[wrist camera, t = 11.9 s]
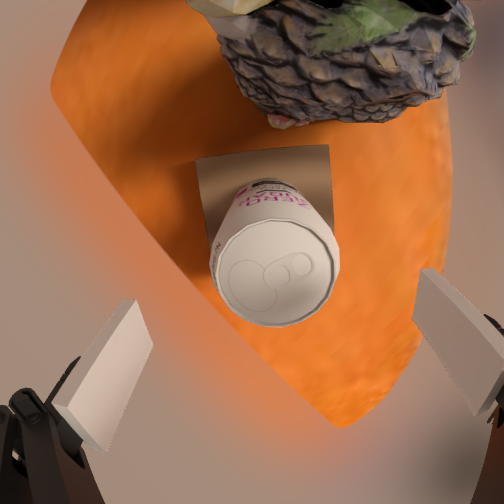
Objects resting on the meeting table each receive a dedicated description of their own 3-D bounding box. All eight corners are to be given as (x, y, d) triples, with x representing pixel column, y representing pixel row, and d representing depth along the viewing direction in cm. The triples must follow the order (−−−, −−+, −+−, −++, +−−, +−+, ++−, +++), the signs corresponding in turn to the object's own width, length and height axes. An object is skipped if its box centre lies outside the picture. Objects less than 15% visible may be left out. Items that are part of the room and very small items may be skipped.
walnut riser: (202, 157, 32) (194, 159, 28) (320, 144, 31) (328, 144, 27) (220, 266, 37) (215, 280, 33) (327, 255, 36) (334, 268, 32)
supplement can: (253, 263, 32) (248, 351, 18) (217, 199, 30) (178, 248, 16) (319, 231, 31) (362, 302, 17) (285, 163, 28) (311, 180, 14)
